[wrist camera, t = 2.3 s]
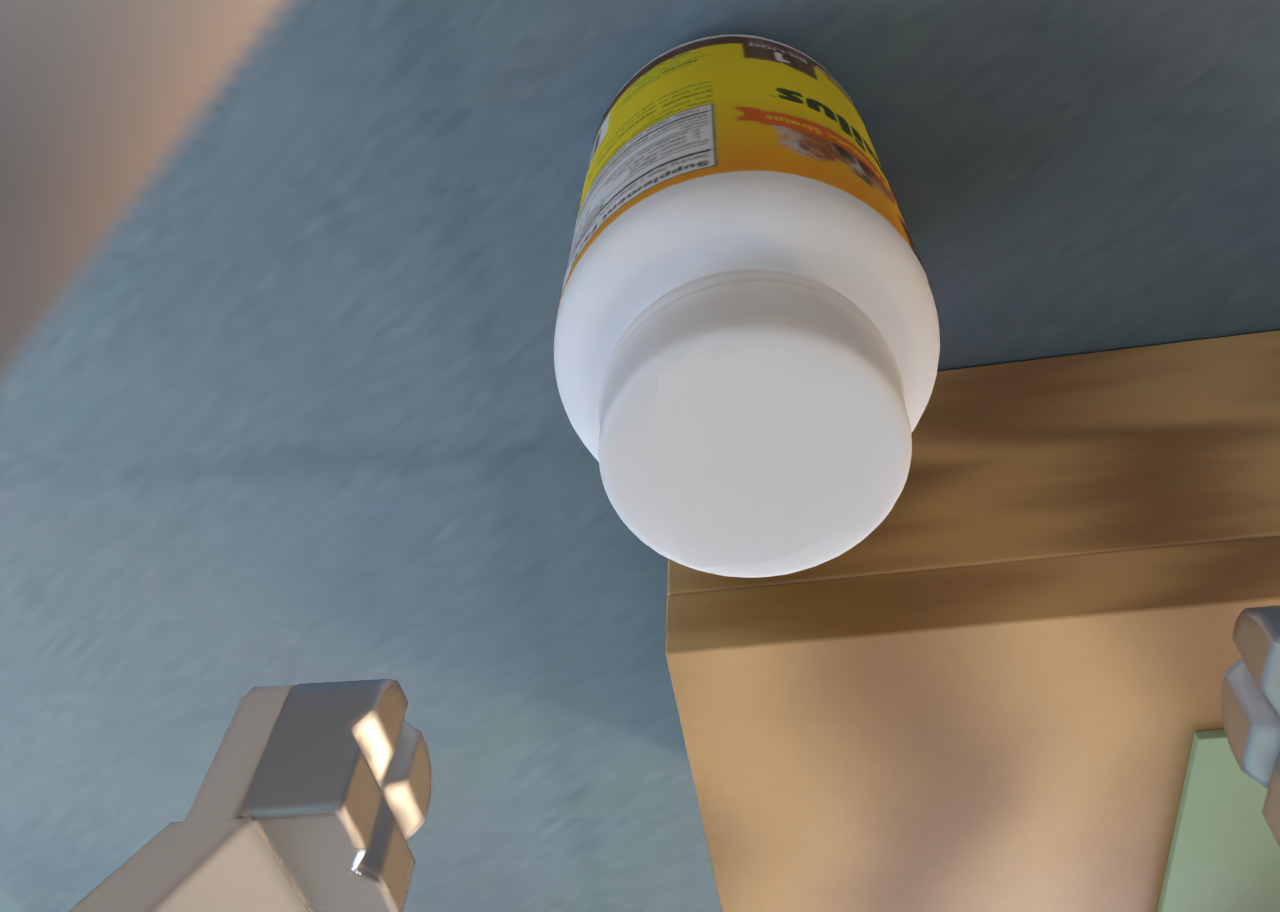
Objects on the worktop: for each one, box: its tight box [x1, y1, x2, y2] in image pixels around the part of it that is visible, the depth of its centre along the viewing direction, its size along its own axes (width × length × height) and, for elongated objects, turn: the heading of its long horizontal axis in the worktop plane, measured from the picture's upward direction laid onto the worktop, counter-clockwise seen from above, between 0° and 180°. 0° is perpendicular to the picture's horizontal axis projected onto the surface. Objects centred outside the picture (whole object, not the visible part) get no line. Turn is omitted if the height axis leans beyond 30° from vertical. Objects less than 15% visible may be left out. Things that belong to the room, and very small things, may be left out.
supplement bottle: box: [554, 35, 940, 578], centre depth 17 cm, size 6×6×10 cm
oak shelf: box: [665, 330, 1280, 912], centre depth 25 cm, size 18×14×8 cm
